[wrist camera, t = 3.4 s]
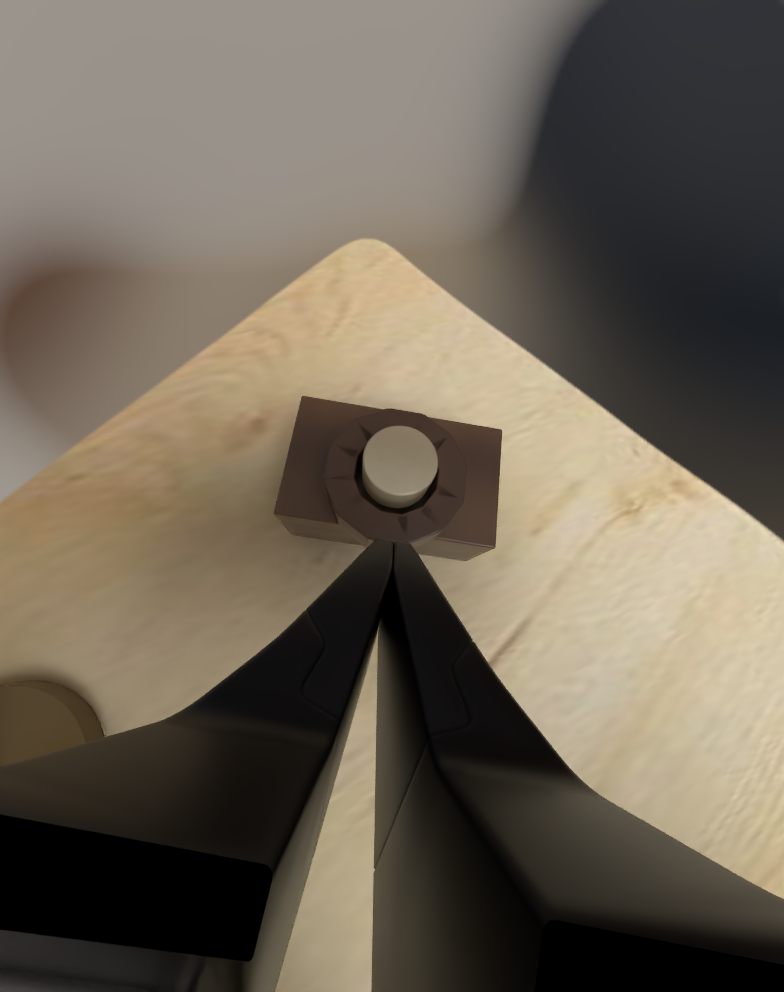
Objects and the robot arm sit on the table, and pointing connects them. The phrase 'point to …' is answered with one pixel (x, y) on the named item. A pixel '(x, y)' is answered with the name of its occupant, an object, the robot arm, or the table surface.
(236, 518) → the table surface
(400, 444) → the lamp switch
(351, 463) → the switch box
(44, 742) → the desk lamp
